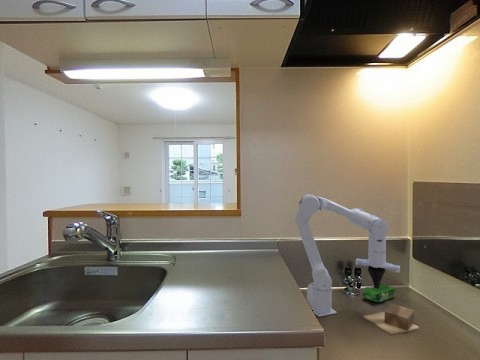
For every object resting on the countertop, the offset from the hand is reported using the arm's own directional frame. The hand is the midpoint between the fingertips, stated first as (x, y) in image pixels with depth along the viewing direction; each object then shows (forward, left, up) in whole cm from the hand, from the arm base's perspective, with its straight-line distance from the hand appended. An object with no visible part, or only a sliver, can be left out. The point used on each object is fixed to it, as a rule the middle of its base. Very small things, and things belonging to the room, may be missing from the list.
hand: (376, 287), depth 101 cm
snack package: (-10, +11, -10) cm, 18 cm away
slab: (+4, +1, -7) cm, 9 cm away
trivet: (+6, 0, -10) cm, 12 cm away
